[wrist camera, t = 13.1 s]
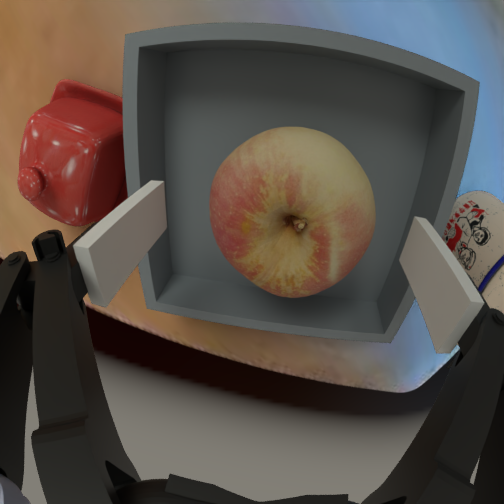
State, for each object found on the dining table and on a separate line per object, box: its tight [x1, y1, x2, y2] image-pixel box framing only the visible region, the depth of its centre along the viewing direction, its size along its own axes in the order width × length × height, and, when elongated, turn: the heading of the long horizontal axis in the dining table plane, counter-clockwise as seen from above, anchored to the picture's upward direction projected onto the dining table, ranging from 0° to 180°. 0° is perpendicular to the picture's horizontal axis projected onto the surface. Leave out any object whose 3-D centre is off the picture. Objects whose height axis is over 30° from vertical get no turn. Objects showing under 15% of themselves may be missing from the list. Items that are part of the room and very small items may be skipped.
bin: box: [123, 23, 480, 343], centre depth 18 cm, size 20×20×5 cm
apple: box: [209, 127, 376, 298], centre depth 15 cm, size 9×9×8 cm
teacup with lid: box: [442, 191, 504, 346], centre depth 15 cm, size 12×9×12 cm
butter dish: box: [18, 79, 128, 226], centre depth 17 cm, size 12×12×8 cm
